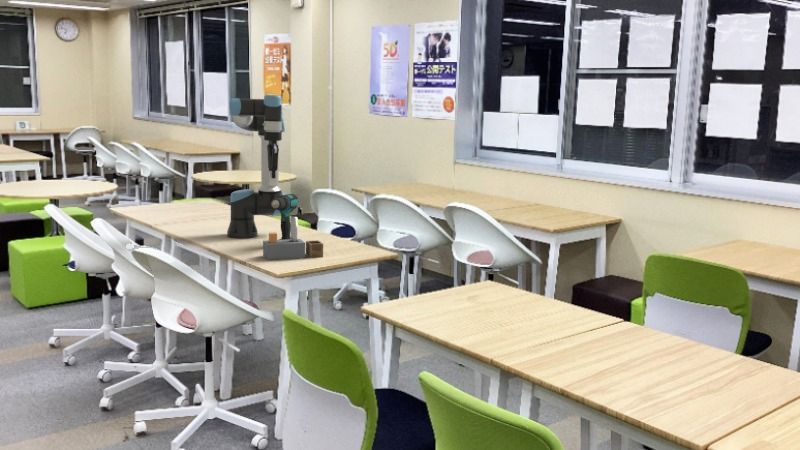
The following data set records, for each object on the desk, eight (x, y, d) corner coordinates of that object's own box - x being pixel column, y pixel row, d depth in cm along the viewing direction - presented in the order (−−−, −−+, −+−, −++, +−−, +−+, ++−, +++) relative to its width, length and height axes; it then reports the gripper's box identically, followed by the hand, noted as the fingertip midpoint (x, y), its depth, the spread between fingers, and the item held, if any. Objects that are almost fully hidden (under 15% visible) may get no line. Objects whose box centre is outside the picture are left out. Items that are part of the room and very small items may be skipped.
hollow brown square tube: (305, 253, 330) (305, 240, 329) (318, 253, 332) (318, 240, 331) (310, 257, 322) (310, 244, 321) (323, 256, 325) (323, 243, 324)
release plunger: (268, 250, 320) (268, 232, 319) (275, 250, 322) (275, 232, 320) (270, 251, 318) (270, 234, 316) (276, 251, 319) (276, 233, 317)
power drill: (282, 253, 330) (282, 199, 325) (263, 251, 332) (263, 197, 327) (301, 242, 355) (301, 191, 351) (284, 240, 357) (284, 190, 352)
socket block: (263, 255, 323) (263, 240, 322) (300, 253, 329) (300, 238, 328) (267, 260, 315) (267, 244, 314) (305, 258, 321) (305, 242, 320)
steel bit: (289, 255, 325) (289, 216, 321) (296, 255, 326) (296, 216, 322) (291, 257, 322) (291, 217, 319) (297, 257, 323) (298, 217, 320)
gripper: (261, 130, 315) (261, 183, 319) (267, 132, 303) (267, 187, 307) (278, 130, 318) (278, 183, 322) (284, 132, 306) (284, 187, 310)
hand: (272, 185), depth 314 cm, fingers closed
